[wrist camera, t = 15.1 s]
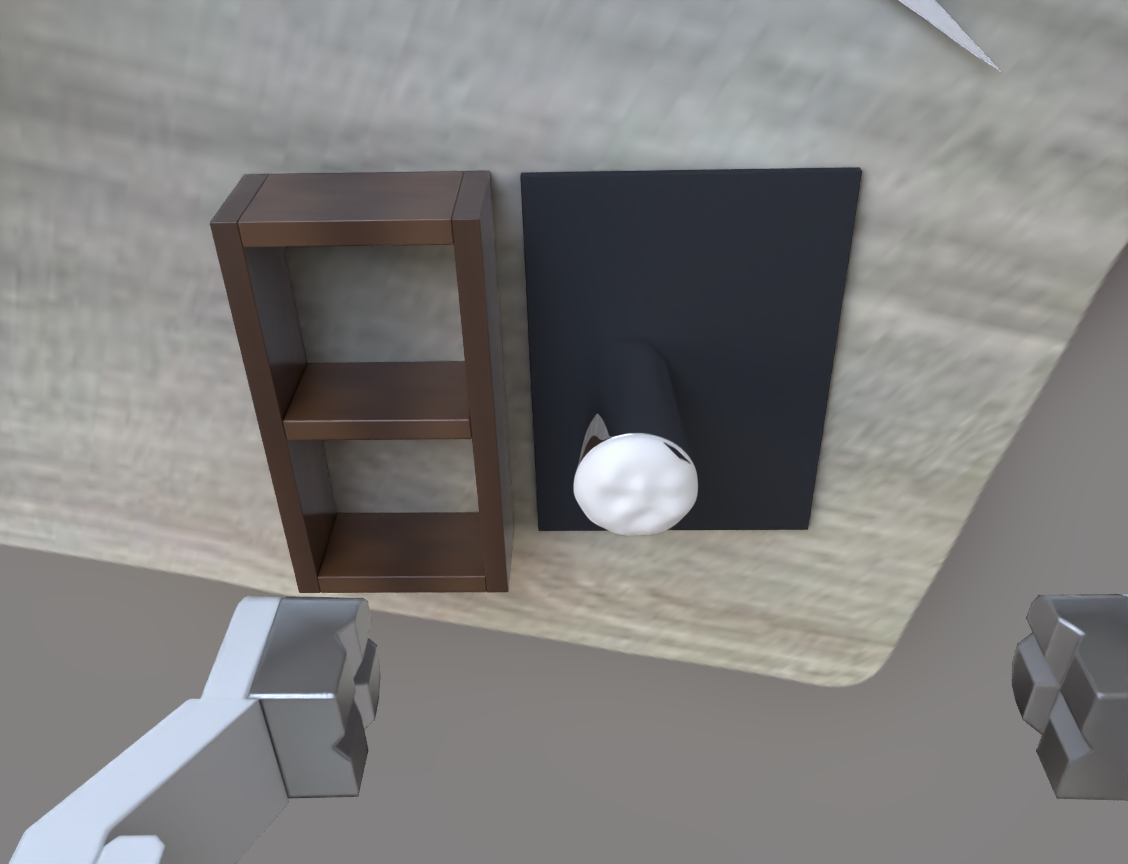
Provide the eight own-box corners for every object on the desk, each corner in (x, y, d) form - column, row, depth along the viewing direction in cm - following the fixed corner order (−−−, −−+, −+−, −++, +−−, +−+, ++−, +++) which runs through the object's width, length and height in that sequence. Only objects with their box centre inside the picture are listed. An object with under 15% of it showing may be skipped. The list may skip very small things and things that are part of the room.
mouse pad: (538, 525, 50) (538, 531, 50) (521, 172, 40) (520, 176, 39) (806, 524, 50) (808, 530, 49) (860, 167, 39) (862, 171, 39)
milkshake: (713, 339, 43) (742, 487, 35) (645, 428, 46) (657, 585, 38) (621, 291, 42) (628, 433, 34) (557, 385, 45) (550, 538, 37)
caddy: (319, 528, 51) (298, 593, 47) (243, 173, 40) (209, 222, 36) (514, 527, 50) (508, 592, 47) (489, 170, 40) (479, 218, 36)
